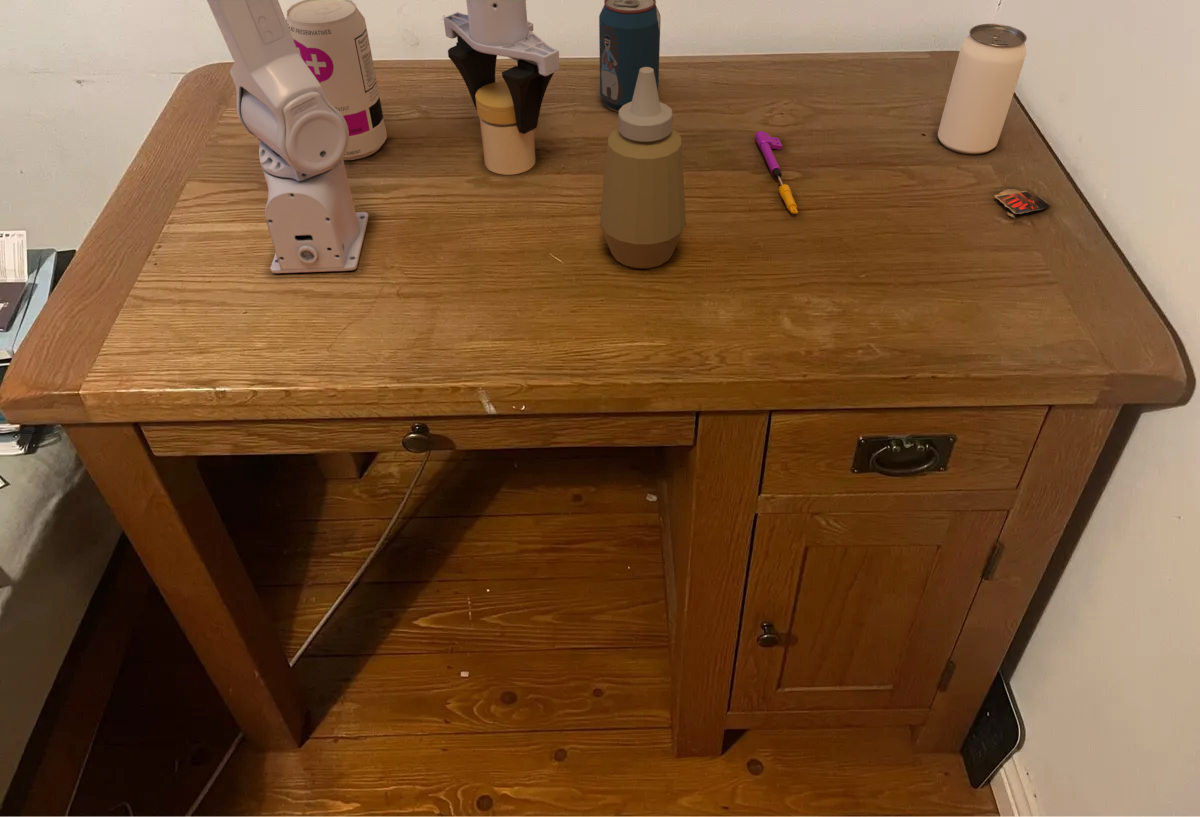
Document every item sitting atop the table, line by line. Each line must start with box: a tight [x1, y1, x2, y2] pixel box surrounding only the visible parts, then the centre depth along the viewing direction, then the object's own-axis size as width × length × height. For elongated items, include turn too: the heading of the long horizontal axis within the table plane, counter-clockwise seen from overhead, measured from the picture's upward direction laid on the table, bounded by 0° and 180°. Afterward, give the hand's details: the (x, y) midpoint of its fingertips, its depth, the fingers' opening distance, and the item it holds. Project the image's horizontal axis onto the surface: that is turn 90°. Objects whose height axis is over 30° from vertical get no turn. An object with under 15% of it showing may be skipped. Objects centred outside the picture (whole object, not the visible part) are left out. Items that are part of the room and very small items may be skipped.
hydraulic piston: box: [754, 130, 799, 215], centre depth 97 cm, size 3×1×16 cm
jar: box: [479, 117, 537, 176], centre depth 98 cm, size 6×6×7 cm
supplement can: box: [285, 0, 388, 161], centre depth 98 cm, size 8×8×15 cm
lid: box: [475, 80, 516, 124], centre depth 95 cm, size 6×6×2 cm
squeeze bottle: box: [599, 67, 687, 269], centre depth 81 cm, size 8×8×18 cm
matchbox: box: [993, 188, 1051, 220], centre depth 93 cm, size 5×5×1 cm
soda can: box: [598, 0, 662, 114], centre depth 106 cm, size 7×7×12 cm
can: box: [937, 23, 1028, 156], centre depth 98 cm, size 6×6×12 cm
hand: (507, 120), depth 97 cm, fingers closed on lid, 6 cm apart
